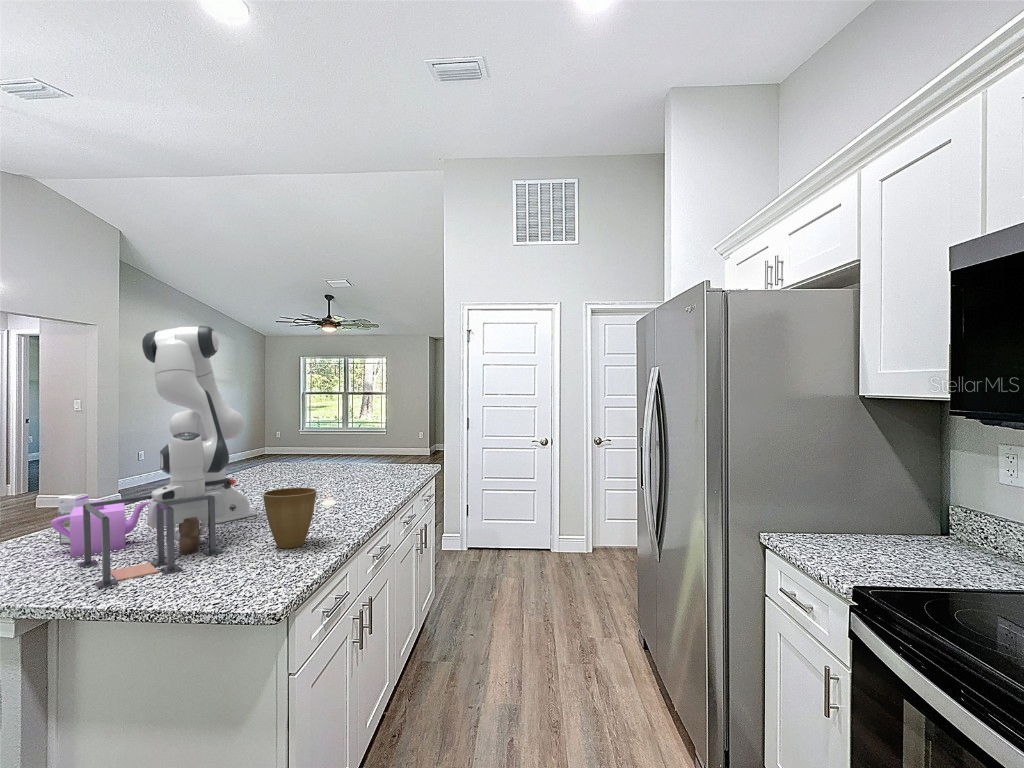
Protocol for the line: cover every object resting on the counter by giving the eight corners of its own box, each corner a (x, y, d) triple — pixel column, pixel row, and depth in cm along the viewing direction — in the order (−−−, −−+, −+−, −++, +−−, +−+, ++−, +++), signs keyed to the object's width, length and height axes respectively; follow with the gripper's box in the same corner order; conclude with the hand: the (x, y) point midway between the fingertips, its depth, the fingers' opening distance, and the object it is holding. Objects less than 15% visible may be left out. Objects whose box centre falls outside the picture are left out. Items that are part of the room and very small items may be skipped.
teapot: (153, 546, 179) (152, 499, 179) (48, 561, 165) (47, 510, 165) (152, 535, 192) (150, 491, 192) (54, 548, 178) (52, 501, 178)
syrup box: (91, 539, 188) (89, 493, 188) (75, 544, 182) (74, 497, 182) (74, 539, 188) (73, 493, 188) (58, 544, 182) (57, 497, 182)
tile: (148, 564, 161) (148, 562, 161) (159, 572, 153) (159, 570, 153) (108, 572, 154) (108, 570, 154) (117, 581, 147) (117, 579, 147)
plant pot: (314, 550, 171) (313, 494, 171) (259, 554, 168) (258, 497, 168) (320, 536, 186) (319, 485, 186) (269, 540, 183) (268, 488, 183)
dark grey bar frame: (201, 541, 183) (200, 487, 183) (234, 559, 164) (232, 499, 163) (77, 565, 161) (75, 504, 161) (98, 589, 142) (96, 519, 142)
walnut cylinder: (195, 548, 176) (195, 514, 176) (201, 551, 172) (200, 516, 172) (177, 551, 172) (176, 517, 172) (182, 555, 169) (181, 519, 169)
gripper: (221, 483, 182) (222, 528, 182) (144, 493, 167) (146, 542, 167) (229, 485, 177) (230, 532, 177) (151, 496, 163) (152, 546, 163)
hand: (188, 537), depth 172 cm, fingers closed on walnut cylinder, 5 cm apart
